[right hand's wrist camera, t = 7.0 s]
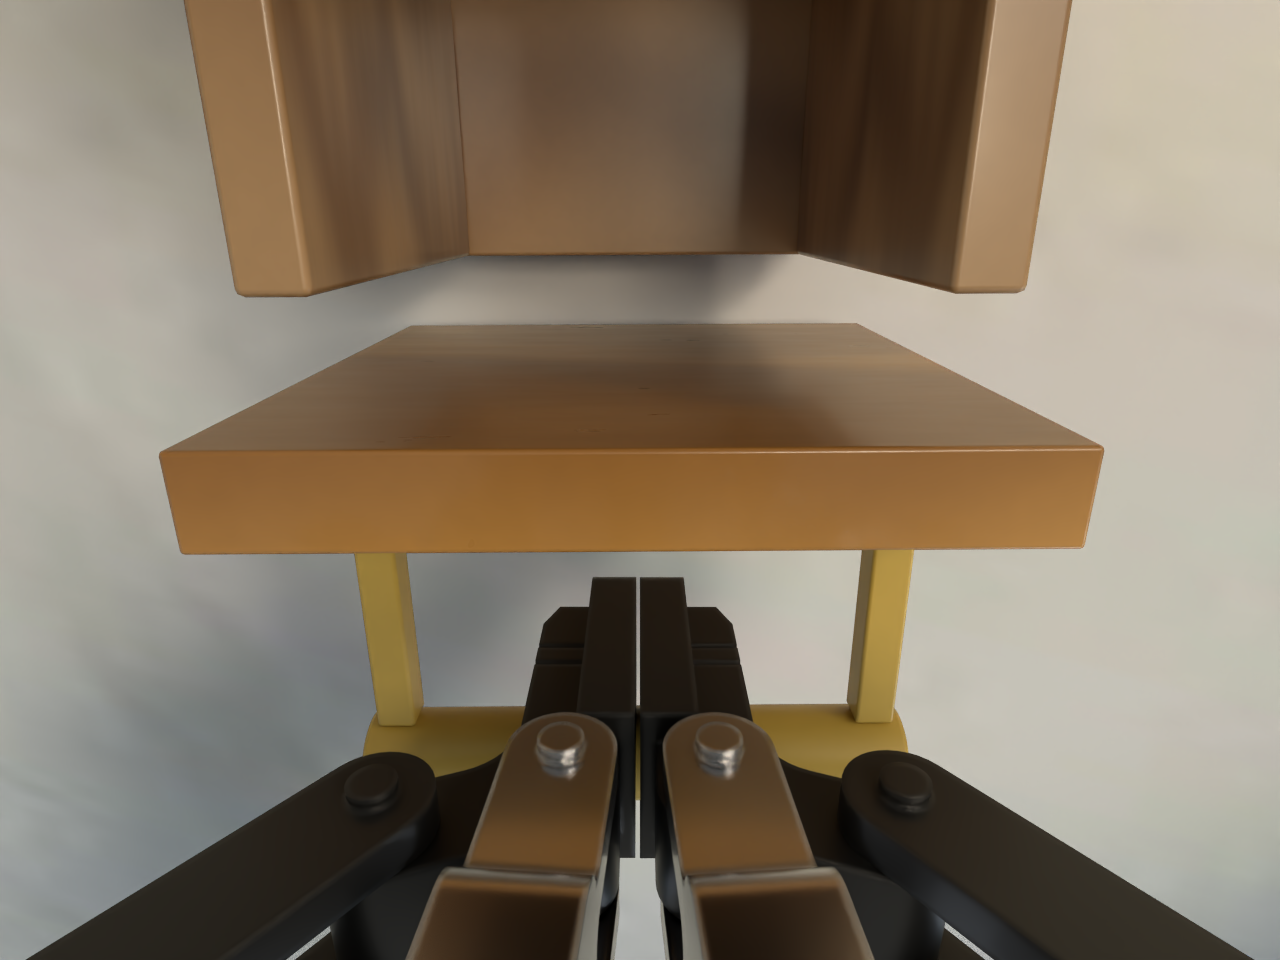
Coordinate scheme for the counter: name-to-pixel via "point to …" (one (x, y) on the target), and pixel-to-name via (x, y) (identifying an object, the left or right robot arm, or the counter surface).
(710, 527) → the drawer
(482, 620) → the counter surface
